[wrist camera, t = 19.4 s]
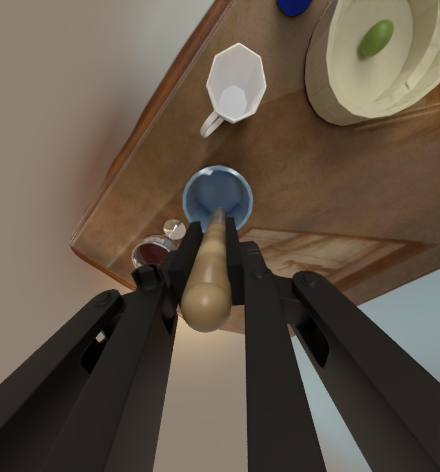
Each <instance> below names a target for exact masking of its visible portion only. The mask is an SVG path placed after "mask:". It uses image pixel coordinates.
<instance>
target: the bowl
mask: <svg viewBox="0 0 440 472" xmlns="http://www.w3.org/2000/svg"><path fill="white" fill-rule="evenodd" d="M382 20H390V21H392V23H393V26H394V30H393V34H392V37H391V39H390V41H389V42H388V44H387V45H386V46H385V47H384V48H383V49H382V50H381V51H380V52H379V53H377V54H376V55H374V56H370V57H367V56H364V55H363V54H362V52H361V45H362V41H363V39H364V37H365V35H366V33H367V32H368V31H369V30H370V28H371V27H372V26H374V25H375V24H376V23H378V22H379V21H382ZM305 83H306V89H307V94H308V98H309V101H310V103H311V104H312V106H313V108H314V110H315V112H316V113H317V114H318V115H319V116H320V117H322V118H323V119H324V120H326V121H327V122H329V123H332V124H336V125H340V126H347V125H354V124H360V123H364V122H367V121H371V120H375V119H379V118H383V117H387V116H390V115H393V114H395V113H397V112H399V111H401V110H403V109H405V108H407V107H409V106H411V105H413V104H415V103H416V102H417V101H418V100H420V99H421V98H422V97H423V96H425V95H426V94H427V93H428V92H430V91H431V90H432V89H434V88H435V87H436V86H437V85H438V84H439V83H440V0H330V1H329V3H328V5H327V6H326V8H325V10H324V12H323V14H322V16H321V17H320V19H319V21H318V23H317V25H316V27H315V29H314V32H313V35H312V39H311V42H310V45H309V48H308V52H307V56H306V69H305Z"/></svg>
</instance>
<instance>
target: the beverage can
mask: <svg viewBox="0 0 440 472" xmlns="http://www.w3.org/2000/svg"><path fill="white" fill-rule="evenodd" d="M311 1H312V0H277V2H278V5H279V7H280V8H281V10H282V11H283V12H284V13H286V14H287V15H293V16H294V15H298V14H300V13H301V12H303V11H304V10H305V9H306V8H307V7H308V6H309V4H310V3H311Z"/></svg>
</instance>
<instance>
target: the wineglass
mask: <svg viewBox="0 0 440 472" xmlns="http://www.w3.org/2000/svg"><path fill="white" fill-rule="evenodd" d="M164 232H165V234H166V235H167V236H166V235H164V234H152V235H148V236H146V237H145V238H143V239H142V240H141V242H140V243H139V245H137V246H136V247H135V248H134V250H133V252H132V260H133V263H134V265H135V266H136V268H138V267H140V266H142V265H144V264H147V263H158V264H159V265H160V263H161V262H162V261H163V258H164V257H165V255H166V254H167V253H169V252H170V251H171V250H178V246H177V244H176V243H175V241H174V240H173V239H180V238H182V237H183V236H184V235H185V232H186V229H185V226H184V224H183V223H182V222H180V221H179V220H176V219H171V220H168V221H166V223H165V224H164Z"/></svg>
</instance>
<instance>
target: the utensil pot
mask: <svg viewBox="0 0 440 472" xmlns="http://www.w3.org/2000/svg"><path fill="white" fill-rule="evenodd" d="M182 201H183V210H184V212H185V215H186V217H187V219H188V221H189V222H190V223H191V222H194V221H200V222H201V227H202V232H203V233H205V231H206V228H207V225H208V223H209V220H210V217H211V214H212V212H213V210H214V209H215V208H217V207H222V208H224V209H225V210H226V213H227V217H234V220H235V225H236V230H239V229H240V228H241V227H242V226H243V225H244V224H245V223H246V222H247V220H248V218H249V216H250V214H251V212H252V205H253V197H252V192H251V188H250V186H249V185H248V183H247V181H246V180H245V178H244V177H243V176H242V175H241V174H240V173H238V172H237V171H236V170H234V169H233V168H231V167H230V166H227V165H223V164H215V165H210V166H208V167H206V168H204V169H202V170H200V171H199V172H197V173H195V174H194V175H193V176H192V177H191V179H190V180H189V181H188V182H187V184H186V186H185V189H184V192H183V196H182Z"/></svg>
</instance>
